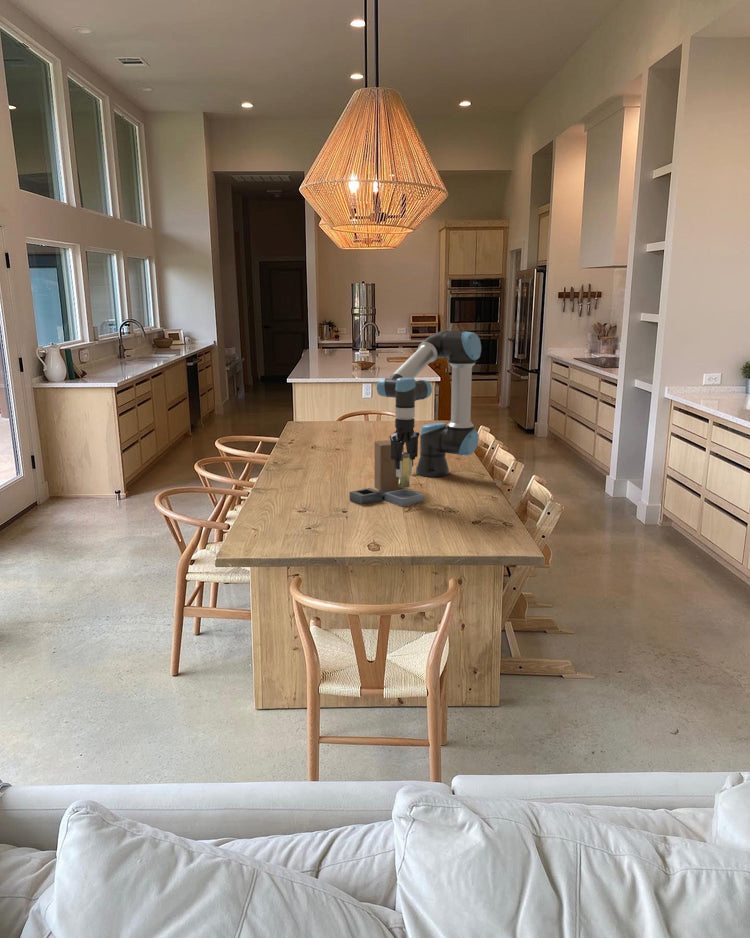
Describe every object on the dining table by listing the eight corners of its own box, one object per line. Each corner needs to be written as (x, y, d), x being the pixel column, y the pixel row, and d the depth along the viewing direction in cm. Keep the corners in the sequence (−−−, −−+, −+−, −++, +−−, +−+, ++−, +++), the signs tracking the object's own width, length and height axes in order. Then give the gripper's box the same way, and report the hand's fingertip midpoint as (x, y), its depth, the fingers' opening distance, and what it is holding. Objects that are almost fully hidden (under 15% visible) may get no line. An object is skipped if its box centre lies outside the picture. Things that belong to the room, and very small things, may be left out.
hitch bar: (384, 493, 305) (384, 484, 304) (397, 497, 298) (397, 489, 298) (349, 500, 294) (349, 491, 293) (361, 505, 288) (361, 496, 287)
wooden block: (380, 492, 306) (380, 445, 301) (374, 486, 315) (374, 440, 311) (403, 490, 309) (404, 444, 304) (396, 484, 318) (396, 439, 313)
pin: (404, 484, 295) (405, 451, 292) (411, 486, 292) (412, 453, 289) (396, 485, 292) (396, 452, 289) (403, 488, 289) (403, 454, 286)
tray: (405, 495, 301) (405, 488, 300) (423, 501, 293) (423, 494, 292) (384, 500, 295) (384, 493, 294) (402, 506, 286) (402, 499, 285)
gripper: (415, 414, 294) (414, 471, 299) (381, 418, 283) (380, 477, 289) (428, 417, 288) (426, 474, 293) (393, 421, 278) (392, 481, 283)
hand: (404, 475), depth 291 cm, fingers closed on pin, 4 cm apart
